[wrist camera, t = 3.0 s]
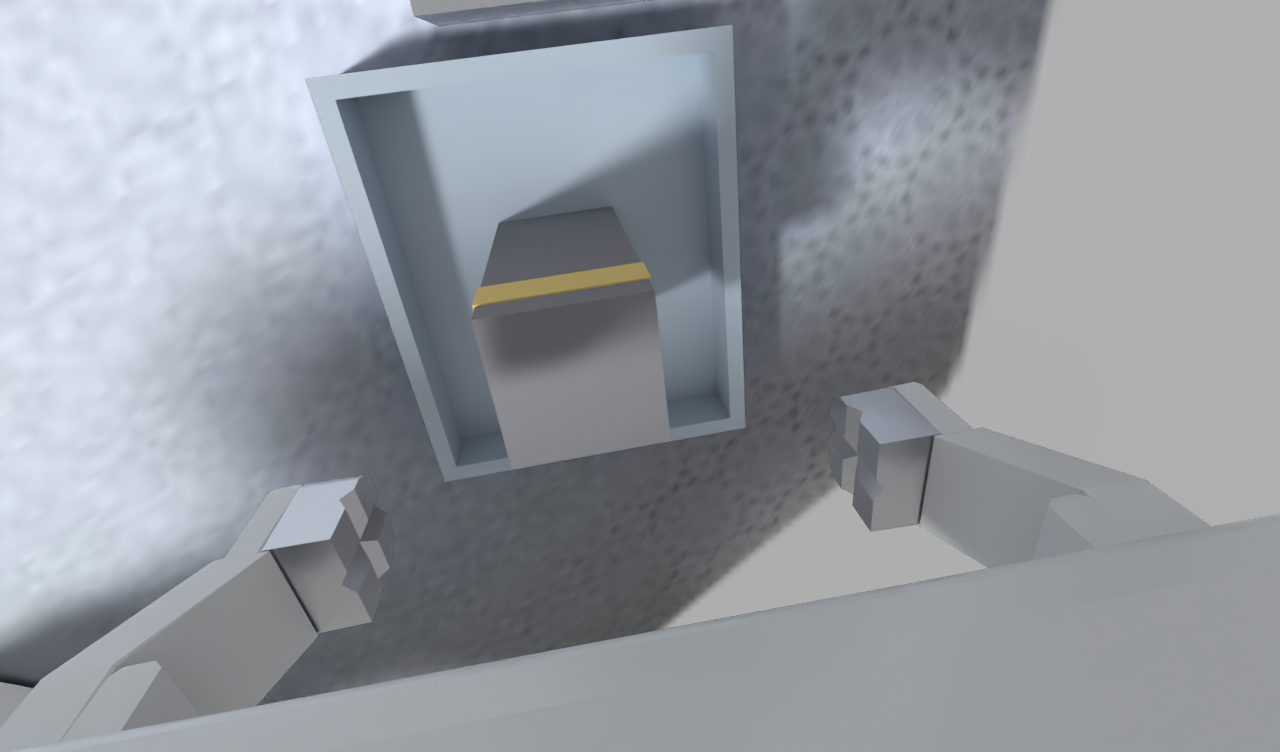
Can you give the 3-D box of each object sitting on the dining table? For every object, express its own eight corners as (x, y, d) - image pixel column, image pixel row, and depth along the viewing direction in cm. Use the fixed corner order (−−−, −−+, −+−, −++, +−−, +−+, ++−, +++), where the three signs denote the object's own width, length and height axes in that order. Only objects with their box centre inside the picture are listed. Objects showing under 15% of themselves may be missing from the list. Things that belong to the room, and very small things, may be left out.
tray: (727, 395, 26) (745, 427, 23) (453, 444, 25) (444, 482, 23) (710, 29, 19) (732, 24, 17) (334, 77, 18) (304, 78, 16)
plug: (627, 311, 23) (672, 441, 15) (521, 329, 22) (510, 471, 14) (613, 204, 21) (656, 288, 13) (496, 221, 20) (467, 318, 12)
